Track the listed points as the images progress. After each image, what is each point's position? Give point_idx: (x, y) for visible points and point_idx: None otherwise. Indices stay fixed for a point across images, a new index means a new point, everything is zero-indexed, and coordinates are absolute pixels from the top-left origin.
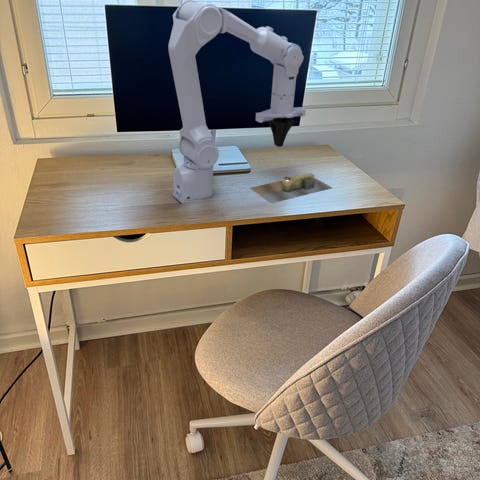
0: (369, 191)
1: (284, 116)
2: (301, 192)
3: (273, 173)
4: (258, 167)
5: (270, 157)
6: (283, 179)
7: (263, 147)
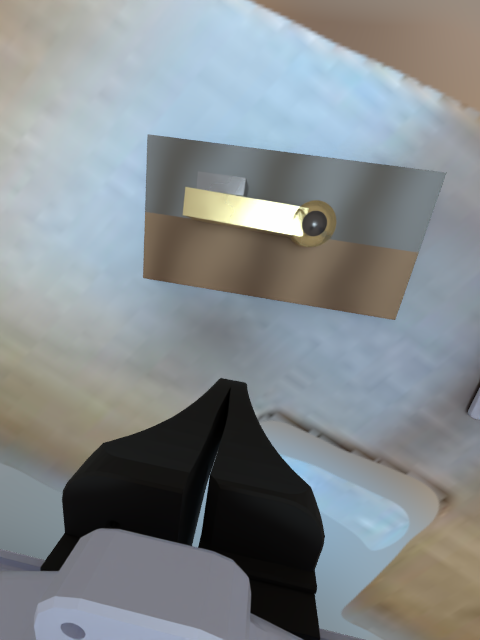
0: (28, 63)
1: (253, 636)
2: (278, 177)
3: (213, 370)
4: None
5: None
6: (333, 231)
7: None
